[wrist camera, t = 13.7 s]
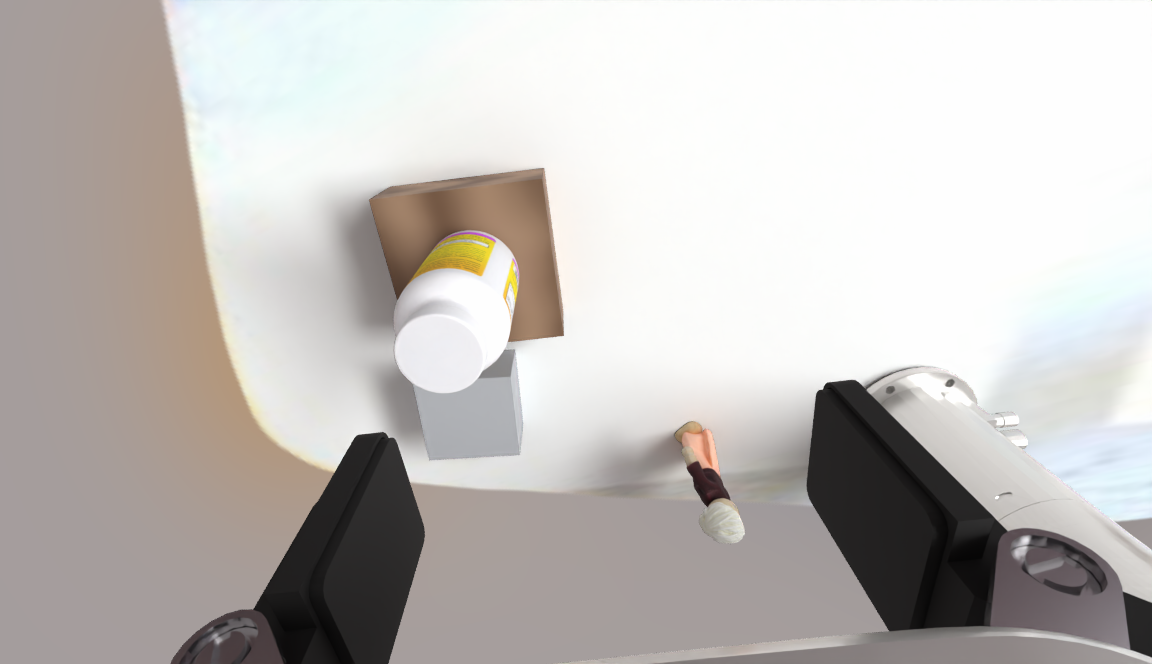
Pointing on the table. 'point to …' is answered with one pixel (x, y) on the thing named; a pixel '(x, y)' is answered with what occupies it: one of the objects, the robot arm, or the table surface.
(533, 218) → the walnut block
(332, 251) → the table surface
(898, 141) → the table surface
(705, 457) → the grandmother figurine
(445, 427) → the grey block
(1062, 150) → the table surface
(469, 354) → the supplement bottle
